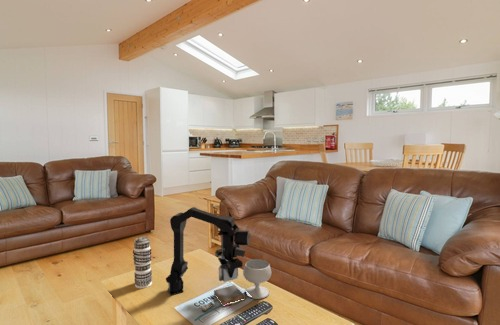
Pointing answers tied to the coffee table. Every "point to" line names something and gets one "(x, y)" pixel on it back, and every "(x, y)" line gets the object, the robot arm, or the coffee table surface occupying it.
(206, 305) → the loose bolt
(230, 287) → the plinth
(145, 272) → the grey striped cylinder
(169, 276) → the robot arm
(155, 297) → the coffee table surface
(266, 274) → the chalice
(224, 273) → the block
